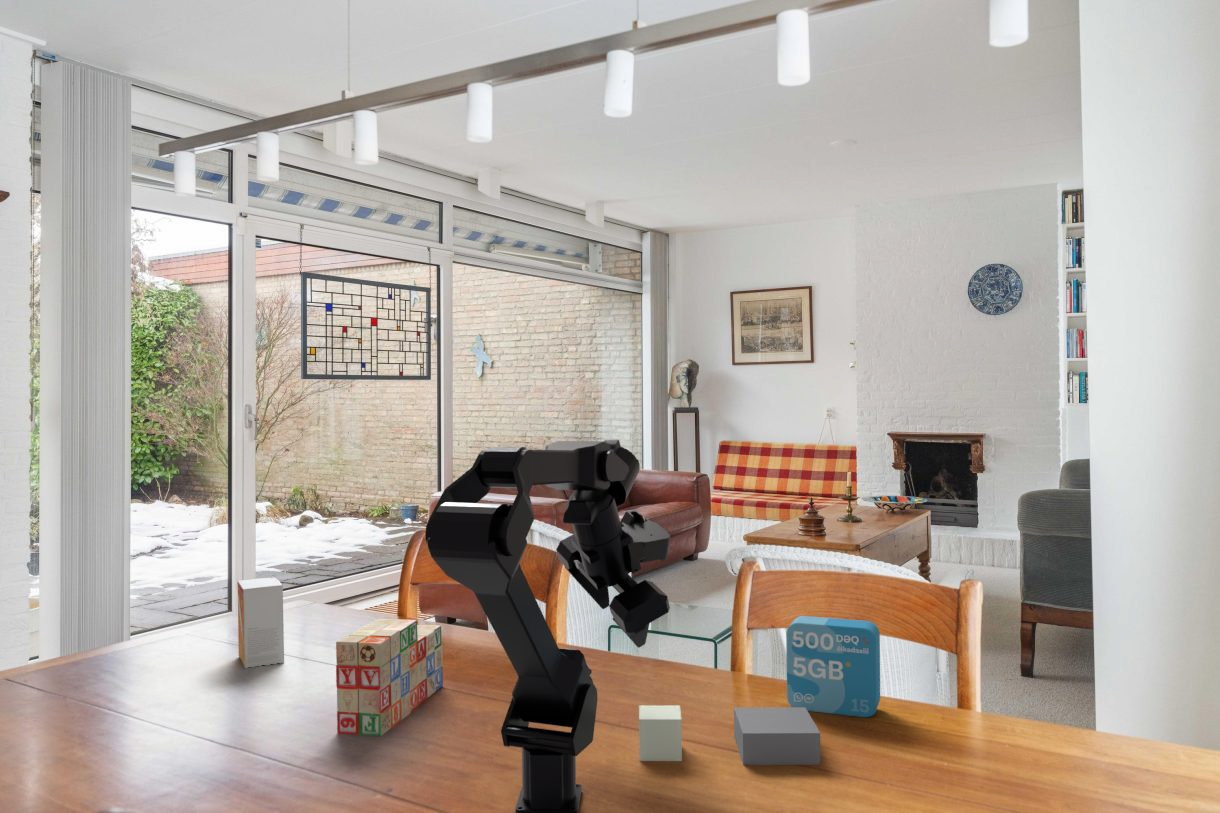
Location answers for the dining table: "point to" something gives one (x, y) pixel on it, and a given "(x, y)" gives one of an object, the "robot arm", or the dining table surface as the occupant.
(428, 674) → the stack of blocks
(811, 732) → the gray square block
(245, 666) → the small box
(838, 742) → the dining table surface
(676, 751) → the sage cube
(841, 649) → the data package
